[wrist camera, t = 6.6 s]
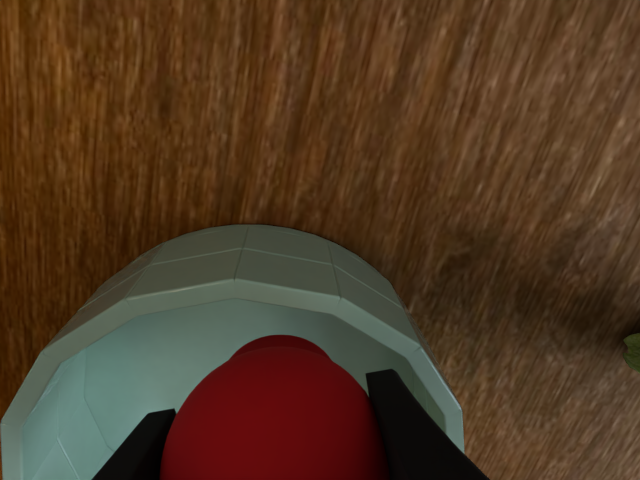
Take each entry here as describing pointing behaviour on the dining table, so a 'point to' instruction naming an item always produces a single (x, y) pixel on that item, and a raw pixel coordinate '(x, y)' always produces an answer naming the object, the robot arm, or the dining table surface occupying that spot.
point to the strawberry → (276, 420)
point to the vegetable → (633, 351)
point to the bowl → (206, 340)
